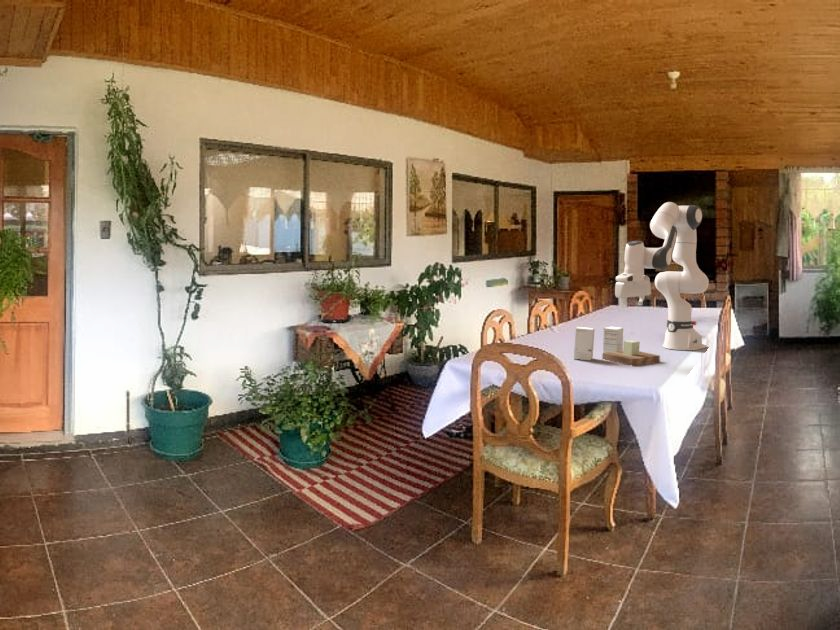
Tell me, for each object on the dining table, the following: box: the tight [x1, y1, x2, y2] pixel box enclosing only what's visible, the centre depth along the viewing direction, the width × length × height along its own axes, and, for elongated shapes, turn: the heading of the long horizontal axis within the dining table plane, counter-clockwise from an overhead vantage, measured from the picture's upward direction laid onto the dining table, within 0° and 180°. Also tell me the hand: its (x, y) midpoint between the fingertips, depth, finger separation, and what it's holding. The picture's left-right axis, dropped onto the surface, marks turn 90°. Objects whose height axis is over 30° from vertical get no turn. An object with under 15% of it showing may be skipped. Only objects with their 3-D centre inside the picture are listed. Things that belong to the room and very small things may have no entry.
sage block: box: [623, 339, 641, 356], centre depth 327 cm, size 5×5×6 cm
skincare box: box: [573, 326, 596, 361], centre depth 331 cm, size 8×6×15 cm
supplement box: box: [602, 325, 624, 354], centre depth 346 cm, size 7×7×13 cm
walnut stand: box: [602, 350, 661, 367], centre depth 328 cm, size 18×18×3 cm
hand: (632, 306), depth 328 cm, fingers open, 8 cm apart
